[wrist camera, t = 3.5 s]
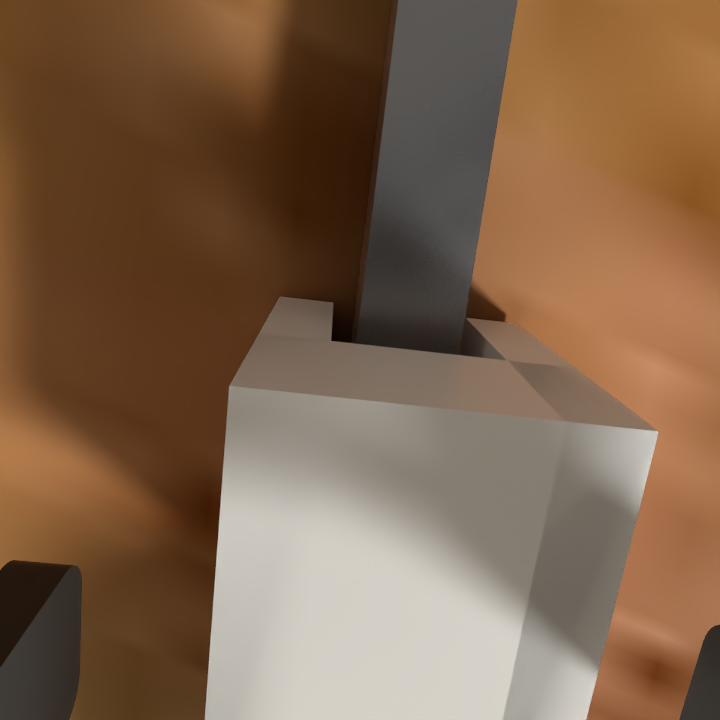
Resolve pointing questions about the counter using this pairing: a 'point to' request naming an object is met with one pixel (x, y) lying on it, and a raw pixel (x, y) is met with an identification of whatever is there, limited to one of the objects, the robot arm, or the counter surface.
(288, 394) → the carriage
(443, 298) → the rail
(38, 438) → the counter surface
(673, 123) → the counter surface
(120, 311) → the counter surface
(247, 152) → the counter surface
